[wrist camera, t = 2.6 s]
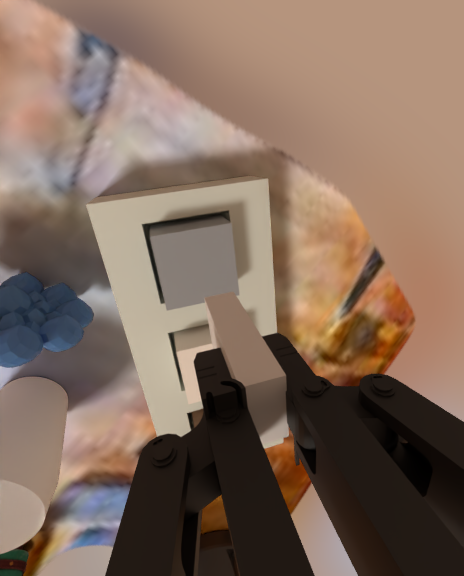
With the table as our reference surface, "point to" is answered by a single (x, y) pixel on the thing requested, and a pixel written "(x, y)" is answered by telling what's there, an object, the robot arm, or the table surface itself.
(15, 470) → the cup
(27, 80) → the table surface
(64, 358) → the table surface
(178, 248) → the slate key
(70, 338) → the grapes
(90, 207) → the key panel
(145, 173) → the table surface
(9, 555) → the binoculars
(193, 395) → the ivory key
